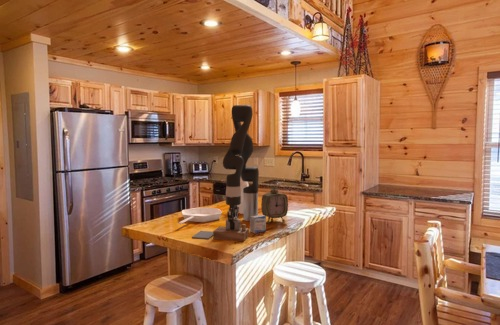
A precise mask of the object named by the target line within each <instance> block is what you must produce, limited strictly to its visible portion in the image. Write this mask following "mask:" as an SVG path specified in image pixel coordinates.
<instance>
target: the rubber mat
mask: <svg viewBox="0 0 500 325" xmlns="http://www.w3.org/2000/svg"><path fill="white" fill-rule="evenodd" d="M211 238H213V231H211V230H210V231H207V230H200V231H198V232H197V233H196V234H194V235H193V236H191V239H201V240H210V239H211Z"/></svg>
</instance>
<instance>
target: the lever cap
mask: <svg viewBox="0 0 500 325" xmlns="http://www.w3.org/2000/svg"><path fill="white" fill-rule="evenodd" d="M231 219H232V218H231ZM225 227H226V230H230V222H228V218H227V219H226V220H225ZM241 228H242V219H239V217H238V218H235V222H234V230H230V231H240V230H241Z"/></svg>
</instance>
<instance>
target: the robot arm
mask: <svg viewBox="0 0 500 325" xmlns="http://www.w3.org/2000/svg"><path fill="white" fill-rule="evenodd" d="M253 114H254V113H253V107H252V106H251V105H249V104H235V105H232V107H231V118H232V119H231V120H232V123H233V127H234V133H233V134H232V136H231V137H230V143H229V148H228V149H227V152H226V154H225V155H224V157H223V159H222V167H223V168H224V169H225V170H230V171H231V170H232V171H233V170H234V171H235V172H234V173H231V174H227V175H226V180H225V181H226V187H225V188H226V189H225V205H227V206H229V207H228V210H227V212H226V214H227V219H228V222H230V230H234V222H235V218H238V219H239V214H238V212H239V207H237V205H240V204H241V189H240V177H241V179H242V180H243V181H246V182H248V183H249V182H250V183H252V184H249V186H248V187H245V188H244V189H243V214H242V217H243V218H242V220H243V221H245V222H250V216H257V215H259V175H260V172H259V171H260V170H259V168H258V167H257V166H247V162H248V161H249V159H250V157H252V154H253V152H254V143H253V138H252V137H251V136H250V134H249V133H248V131H249V129H250V126H251V122H252V120H253ZM231 218H232V219H231Z"/></svg>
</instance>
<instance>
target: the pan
mask: <svg viewBox="0 0 500 325" xmlns="http://www.w3.org/2000/svg"><path fill="white" fill-rule="evenodd" d="M181 214H182V216H183V220H181V221H179V222H178V224H179V225H182V224H183V223H185V222H193V223H206V222H207V223H208V222H212V221H213V222H214V221H217V220H220V218H221V215H223V214H222V210H221V209H219V208H217V207H201V206H200V207H199V206H198V207H193V208H185V209H182V210H181Z"/></svg>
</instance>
